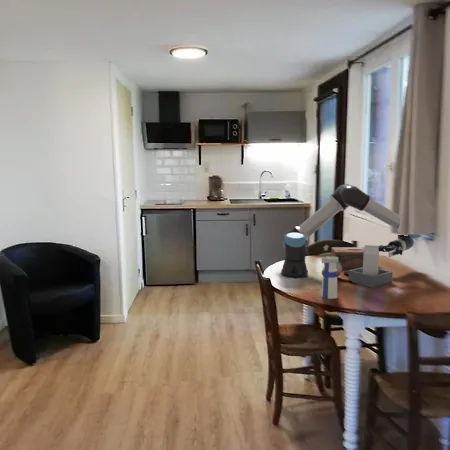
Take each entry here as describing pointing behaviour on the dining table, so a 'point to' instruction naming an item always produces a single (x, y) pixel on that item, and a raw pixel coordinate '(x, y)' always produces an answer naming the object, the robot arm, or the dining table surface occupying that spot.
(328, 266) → the water bottle
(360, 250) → the tissue box cover
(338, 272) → the decorative fruit
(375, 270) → the milk carton
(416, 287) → the dining table surface
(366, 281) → the bin
